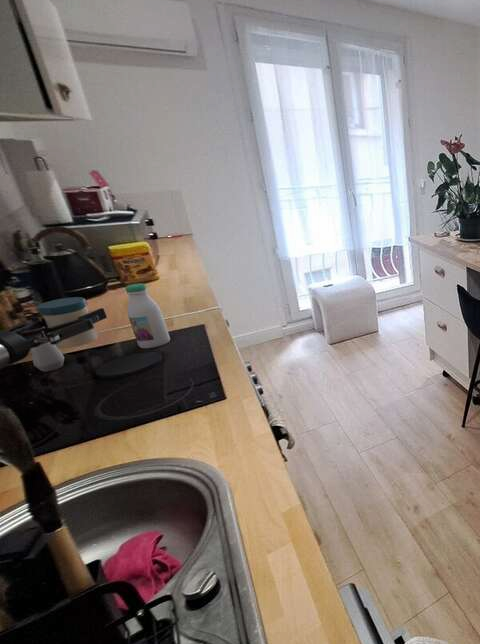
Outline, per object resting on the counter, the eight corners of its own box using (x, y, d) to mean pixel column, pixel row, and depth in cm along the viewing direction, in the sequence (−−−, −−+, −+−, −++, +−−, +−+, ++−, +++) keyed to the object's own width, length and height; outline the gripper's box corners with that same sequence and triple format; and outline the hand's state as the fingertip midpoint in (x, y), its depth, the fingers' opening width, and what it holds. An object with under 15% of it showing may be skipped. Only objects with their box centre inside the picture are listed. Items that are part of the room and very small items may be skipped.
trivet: (91, 383, 109) (89, 380, 109) (102, 363, 120) (101, 360, 120) (159, 369, 117) (158, 366, 117) (164, 350, 128) (163, 347, 127)
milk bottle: (163, 337, 137) (144, 280, 130) (175, 341, 134) (156, 283, 127) (134, 346, 130) (112, 286, 123) (146, 351, 127) (124, 290, 120)
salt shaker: (32, 370, 115) (12, 328, 111) (60, 361, 121) (42, 321, 116) (44, 374, 114) (23, 332, 109) (71, 365, 119) (53, 324, 114)
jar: (52, 351, 102) (34, 312, 98) (61, 340, 107) (45, 302, 104) (94, 343, 106) (79, 305, 102) (101, 333, 112) (87, 297, 108)
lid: (35, 317, 98) (32, 310, 97) (46, 307, 104) (43, 300, 104) (82, 310, 102) (79, 304, 102) (90, 301, 109) (88, 295, 108)
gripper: (-56, 370, 88) (48, 327, 109) (52, 365, 90) (133, 324, 112) (-73, 339, 85) (37, 301, 107) (38, 335, 88) (124, 299, 109)
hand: (86, 313), depth 109 cm, fingers closed on jar, 8 cm apart
